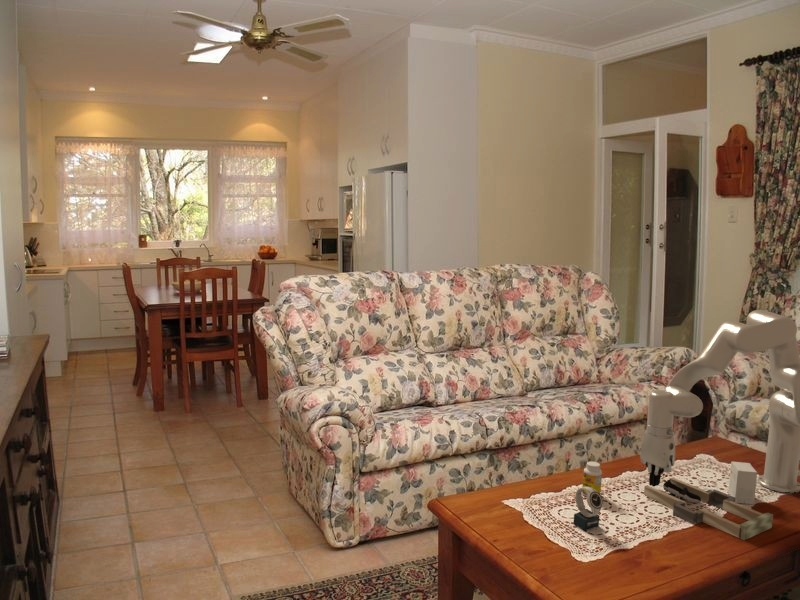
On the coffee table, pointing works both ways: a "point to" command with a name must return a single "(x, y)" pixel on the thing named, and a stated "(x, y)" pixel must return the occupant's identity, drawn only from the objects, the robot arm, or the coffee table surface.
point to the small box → (742, 482)
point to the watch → (586, 517)
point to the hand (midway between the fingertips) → (654, 484)
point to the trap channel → (743, 531)
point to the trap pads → (716, 504)
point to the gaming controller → (681, 492)
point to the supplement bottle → (592, 477)
